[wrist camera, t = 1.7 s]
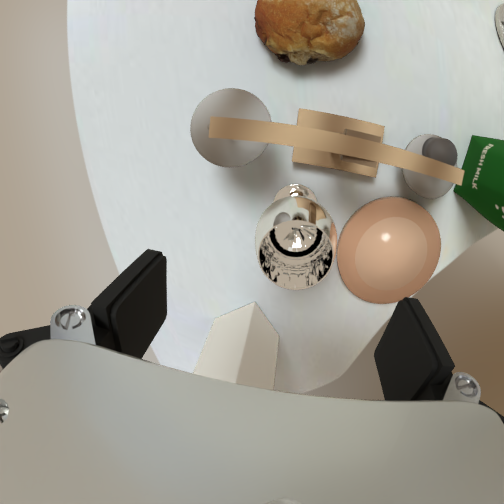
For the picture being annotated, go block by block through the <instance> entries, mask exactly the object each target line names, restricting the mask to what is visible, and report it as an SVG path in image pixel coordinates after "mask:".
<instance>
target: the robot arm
mask: <svg viewBox="0 0 504 504" xmlns="http://www.w3.org/2000/svg"><path fill="white" fill-rule="evenodd" d="M495 21H496V27H497V31H498V35H499V38H500V41H501V43H502V45H503V48H504V3H503V4H501V5H500V6H499V7H498V8H497V10H496V14H495ZM166 263H167V261H166V257H165V256H163V254H162V252H160V251H155V250H150V249H147V250H146V251H145V252H144V253H143V254H142V255H141V256H139V257H138V258H137V259H136V260H135V261H134V262H133V263H132V264H131V265H130V266H129V267H128V268H127V269H125V270H124V271H123V272H122V273H121V274H120V275H119V276H118V277H117V278H116V279H115V280H114V281H113V282H112V283H111V284H110V285H109V286H108V287H107V288H106V289H105V290H104V291H103V292H102V293H101V294H100V295H99V296H98V297H97V298H96V299H95V300H94V301H93V302H92V303H91V305H90V306H89V308H88V309H86V308H84V307H81V306H77V305H69V306H65V307H62V308H60V309H58V310H57V311H56V312H55V313H54V314H53V315H52V317H51V322H50V323H51V324H50V325H49V326H44V327H39V328H34V329H29V330H24V331H18V332H13V333H9V334H6V335H4V336H3V337H1V338H0V504H504V417H503V416H502V415H500V414H499V413H498V412H496V411H495V410H493V409H492V408H490V407H489V406H487V405H486V404H484V403H483V402H481V401H480V400H479V399H480V394H481V390H480V386H479V384H478V382H477V381H476V380H475V379H474V378H473V377H471V376H470V375H469V374H466V373H463V372H457V373H455V374H454V375H453V374H452V372H451V371H452V370H453V369H454V367H455V365H454V363H453V361H452V359H451V357H450V355H449V353H448V351H447V349H446V347H445V346H444V344H443V342H442V340H441V338H440V336H439V334H438V333H437V331H436V329H435V327H434V325H433V324H432V322H431V320H430V319H429V317H428V315H427V314H426V312H425V310H424V308H423V307H422V305H421V303H420V302H419V300H418V299H414V298H408V297H404V298H403V299H402V300H400V301H399V302H398V304H397V306H396V308H395V310H394V312H393V315H392V317H391V319H390V321H389V323H388V325H387V327H386V330H385V332H384V334H383V336H382V338H381V340H380V342H379V344H378V346H377V348H376V350H375V353H374V357H375V362H376V366H377V369H378V373H379V377H380V381H381V385H382V390H383V394H384V398H385V400H362V399H347V398H335V397H324V396H314V395H306V394H298V393H290V392H283V391H277V390H270V389H264V388H258V387H253V386H247V385H242V384H237V383H232V382H227V381H223V380H218V379H214V378H209V377H205V376H201V375H197V374H193V373H189V372H185V371H181V370H177V369H174V368H170V367H167V366H163V365H160V364H156V363H153V362H150V361H146V360H143V359H142V357H143V355H144V354H145V352H146V350H147V349H148V347H149V345H150V344H151V342H152V341H153V339H154V337H155V336H156V334H157V332H158V331H159V329H160V328H161V326H162V324H163V323H164V321H165V319H166V316H167V284H166Z"/></svg>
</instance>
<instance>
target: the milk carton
mask: <svg viewBox="0 0 504 504" xmlns="http://www.w3.org/2000/svg"><path fill="white" fill-rule="evenodd" d="M462 170H464V176H463V180H462V185H458V184H456V186H455V188H454V192H455V193H457V194H458V195H459V196H460V197H462V198H463V199H464V200H465V201H467V202H468V203H469V204H470V205H471V206H472V207H474V208H475V209H476V210H477V211H478V212H479V213H480V214H481V215H482V216H484V217H485V218H486V219H487V220H489V221H490V222H491V223H493V224H494V225H495V226H497V227H498V228H499V229H501V230H503V231H504V140H499V139H493V138H487V137H480V136H474V135H472V138H471V142H470V145H469V148H468V151H467V154H466V158H465V161H464V164H463V167H462Z"/></svg>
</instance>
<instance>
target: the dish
mask: <svg viewBox="0 0 504 504" xmlns="http://www.w3.org/2000/svg"><path fill="white" fill-rule="evenodd" d="M440 251H441V239H440V233H439V230H438V227H437V225H436V223H435V221H434V219H433V218H432V216H431V215H430V214H429V213H428V212H427V211H426V210H425V209H424V208H422V207H421V206H420V205H418V204H417V203H415V202H413V201H411V200H409V199H406V198H402V197H383V198H379V199H376V200H373V201H371V202H369V203H367V204H365V205H364V206H362V207H361V208H360V209H358V210H357V211H356V212H355V213H354V214H353V215H352V216H351V217H350V219H349V220H348V221H347V223H346V224H345V226H344V228H343V230H342V232H341V234H340V237H339V240H338V245H337V263H338V267H339V271H340V274H341V277H342V279H343V281H344V283H345V285H346V286H347V287H348V289H349V290H350V291H351V292H352V293H353V294H355V295H356V296H358V297H359V298H361V299H363V300H365V301H368V302H372V303H378V304H387V303H394V302H398V301H400V300H402V299H403V298H404V297H409V296H411V295H413V294H414V293H416V292H417V291H418V290H420V289H421V288H422V287H423V286H424V285H425V284H426V283H427V281H428V280H429V279H430V277H431V276H432V274H433V272H434V271H435V268H436V266H437V264H438V260H439V257H440Z"/></svg>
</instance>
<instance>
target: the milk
mask: <svg viewBox="0 0 504 504" xmlns="http://www.w3.org/2000/svg"><path fill="white" fill-rule="evenodd" d="M278 344H279V335H278V334H277V332H276V331H275V329H274V328H273V327H272V325H271V324H270V322H269V321H268V319H267V318H266V317H265V315H264V314H263V312H262V311H261V309H260V308H259V307H258V305H257V304H256V302H253V303H251V304H248V305H246V306H244V307H241V308H239V309H237V310H234V311H232V312H230V313H227V314H225V315H222V316H220V317H218V318H215V320H214V322H213V325H212V327H211V330H210V332H209V335H208V337H207V340H206V342H205V344H204V347H203V349H202V352H201V354H200V357H199V359H198V362H197V364H196V367H195V369H194V372H193V374H197V375H201V376H205V377H209V378H214V379H218V380H223V381H227V382H232V383H237V384H242V385H247V386H253V387H258V388H264V389H270V390H273V389H274V380H275V372H276V362H277V353H278Z"/></svg>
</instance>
